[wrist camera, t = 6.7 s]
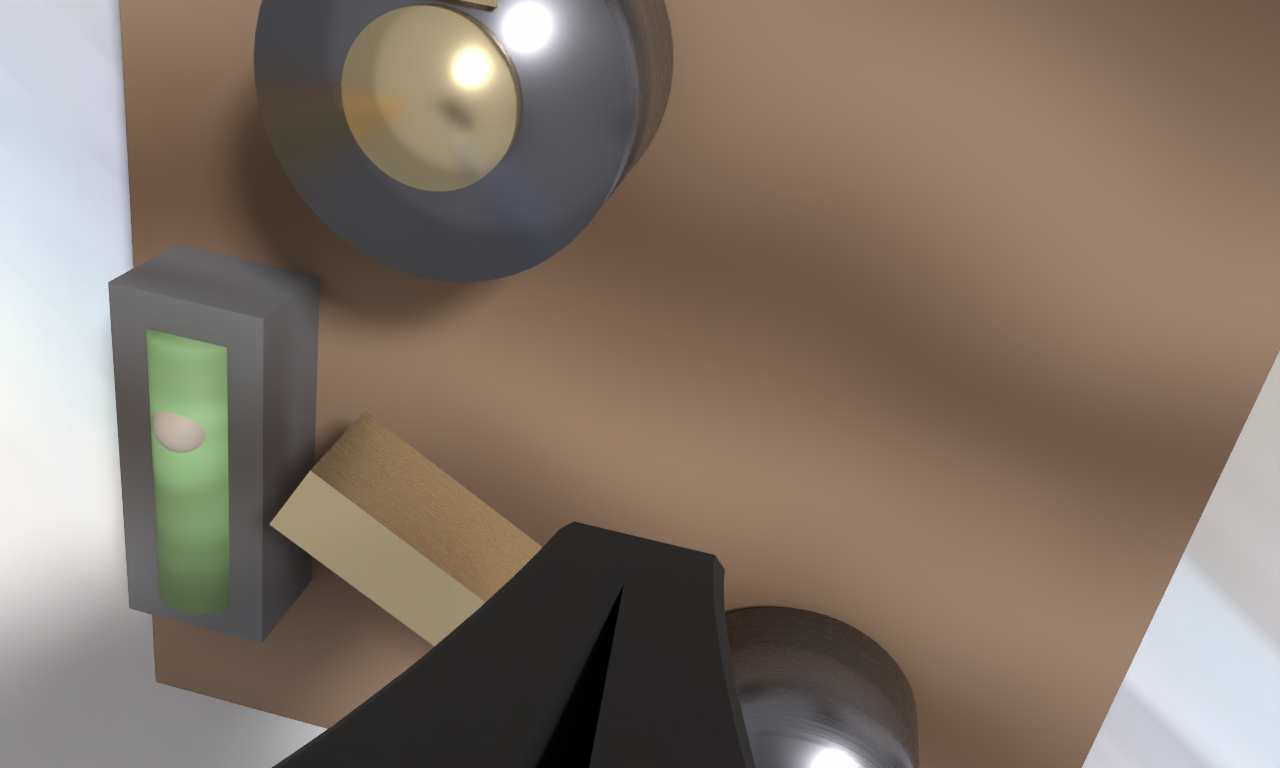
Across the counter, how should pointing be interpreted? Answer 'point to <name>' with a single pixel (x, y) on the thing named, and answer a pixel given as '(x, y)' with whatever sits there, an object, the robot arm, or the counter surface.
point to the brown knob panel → (742, 346)
